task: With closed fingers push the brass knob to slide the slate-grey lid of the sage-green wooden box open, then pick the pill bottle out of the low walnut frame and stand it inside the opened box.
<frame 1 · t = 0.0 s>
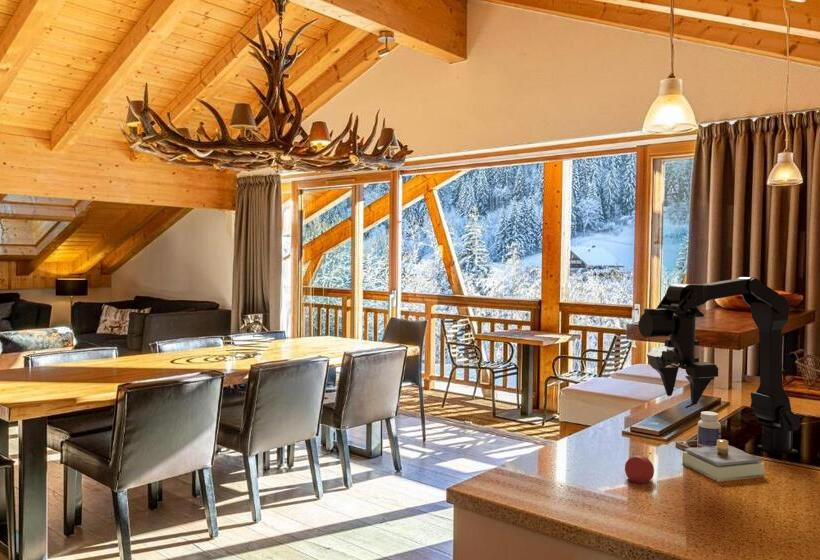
hand: (681, 400, 157), 15 cm above the counter, fingers open, 9 cm apart
fruit: (641, 479, 145), on the counter
pebbles: (708, 448, 164), in the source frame
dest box: (721, 470, 150), on the counter
lid: (722, 448, 150), point 5 cm above the counter, slide at 0.0 cm
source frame: (708, 451, 165), on the counter
pill bottle: (708, 452, 165), resting in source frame
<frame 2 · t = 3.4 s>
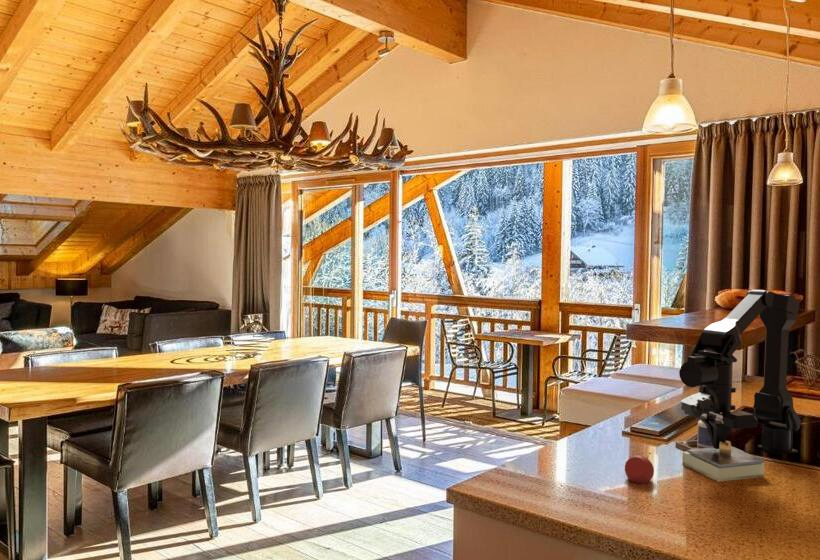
hand: (716, 448, 152), 5 cm above the counter, fingers closed
lid: (725, 449, 149), point 5 cm above the counter, slide at 0.9 cm, touching gripper
everything else where it was.
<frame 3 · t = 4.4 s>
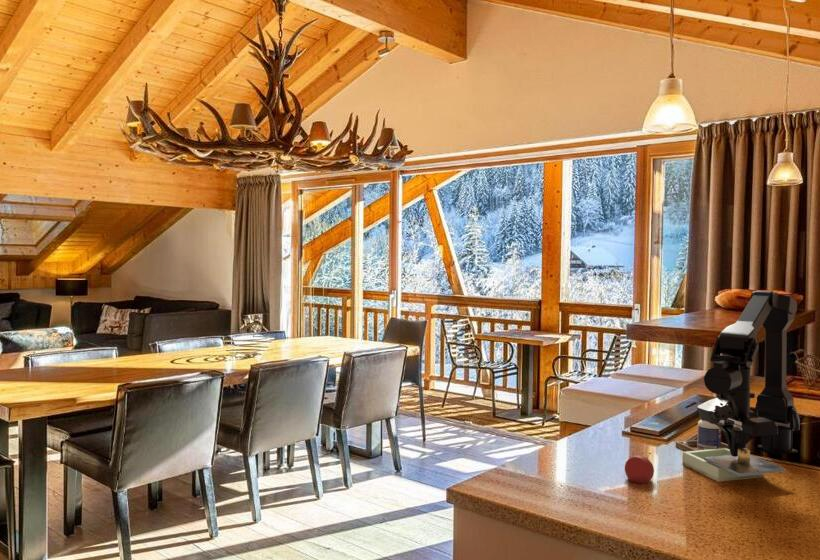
hand: (734, 456, 146), 5 cm above the counter, fingers closed
lid: (743, 457, 144), point 5 cm above the counter, slide at 6.6 cm, touching gripper
everything else where it was.
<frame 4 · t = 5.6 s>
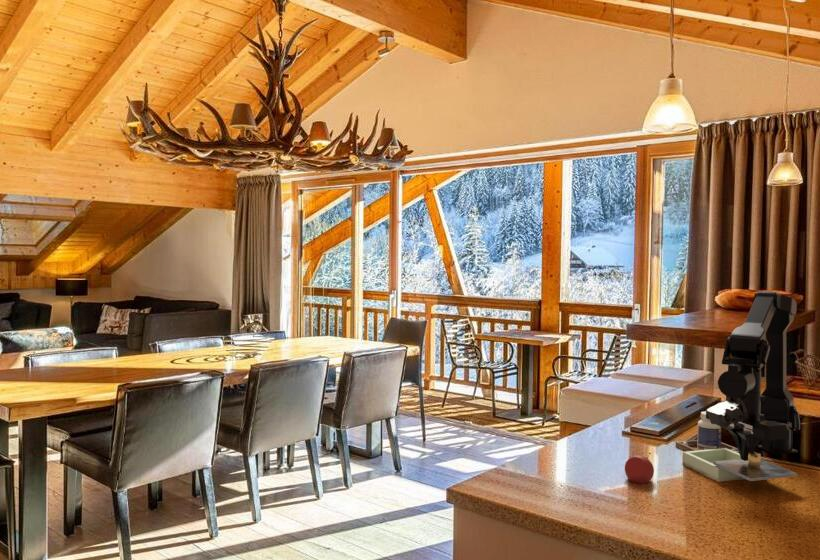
hand: (744, 460, 143), 5 cm above the counter, fingers closed
lid: (754, 461, 141), point 5 cm above the counter, slide at 9.7 cm, touching gripper
everything else where it was.
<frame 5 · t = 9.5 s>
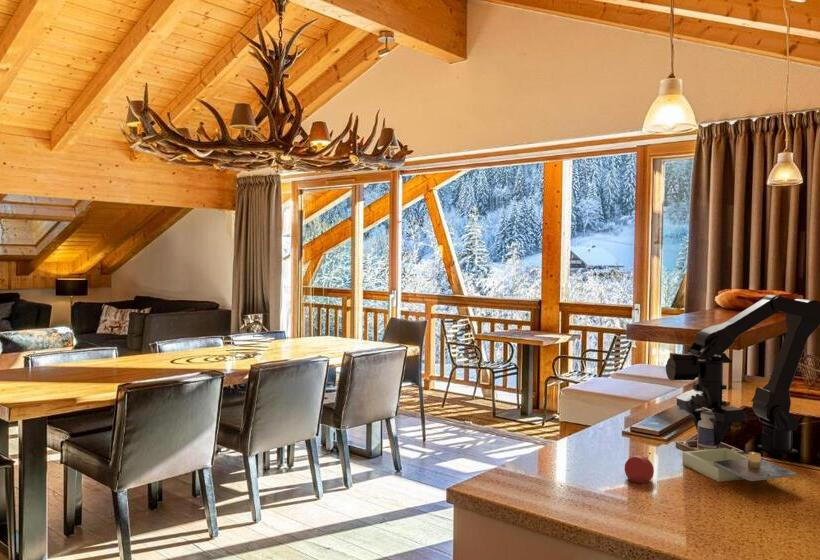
hand: (709, 441, 164), 3 cm above the counter, fingers closed on pill bottle, 5 cm apart
lid: (754, 461, 141), point 5 cm above the counter, slide at 9.7 cm
pill bottle: (708, 451, 165), resting in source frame, touching gripper
everything else where it was.
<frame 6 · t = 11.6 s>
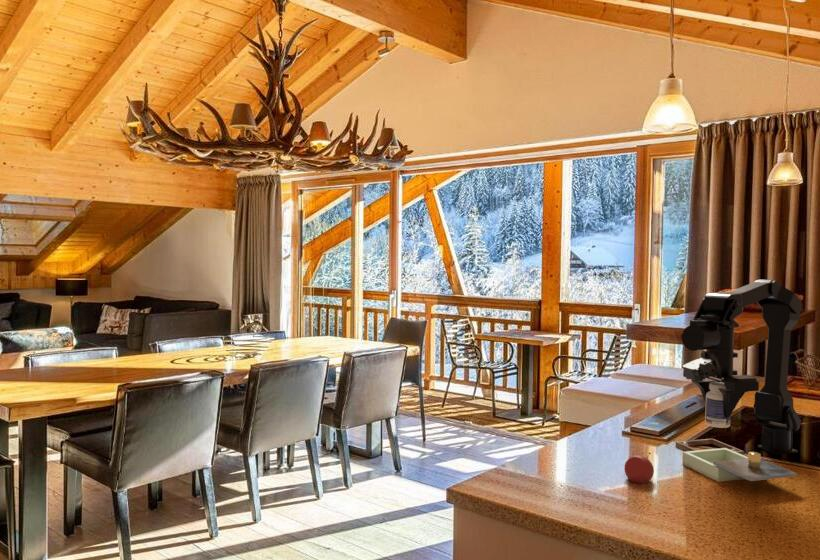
hand: (718, 414, 151), 13 cm above the counter, fingers closed on pill bottle, 5 cm apart
pill bottle: (717, 426, 151), point 10 cm above the counter, touching gripper
everything else where it was.
when the fingers open (4 cm above the counter, at t = 13.6 s): pill bottle drops 1 cm, resting on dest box.
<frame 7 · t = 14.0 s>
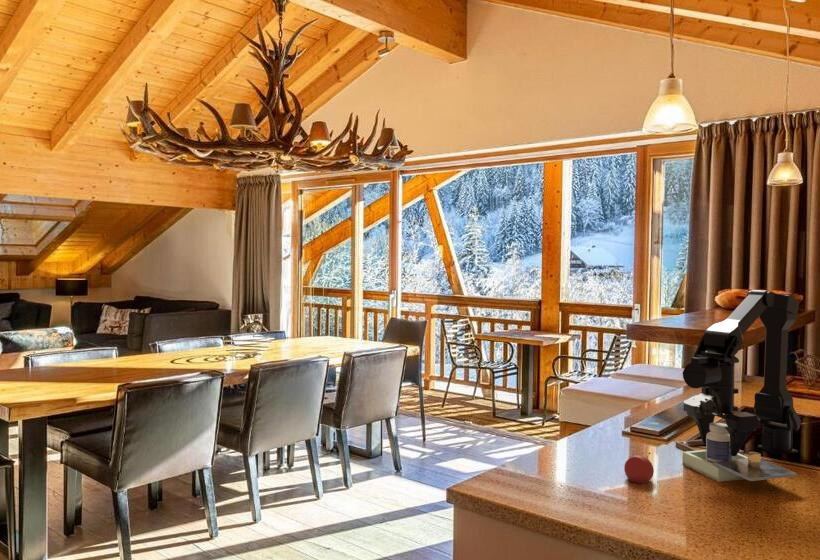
hand: (719, 449, 151), 4 cm above the counter, fingers open, 9 cm apart
pill bottle: (718, 466, 151), resting on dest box
everything else where it was.
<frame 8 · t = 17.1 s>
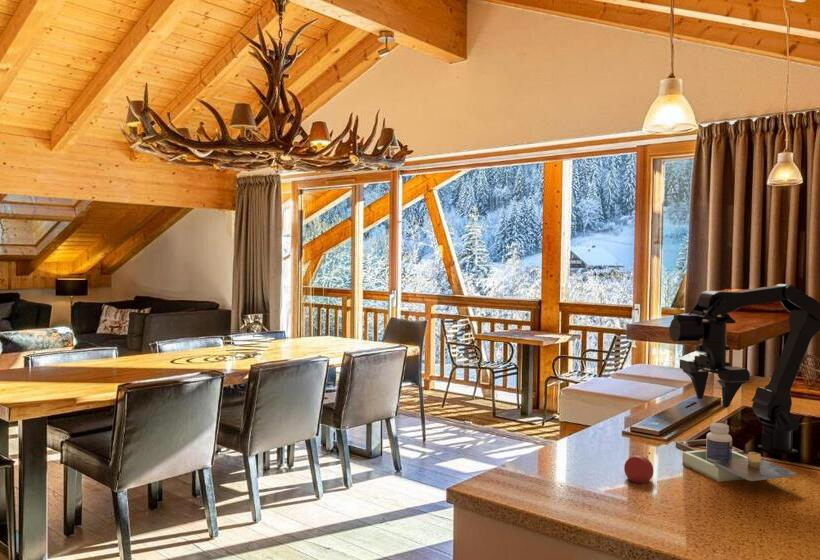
hand: (712, 403, 163), 13 cm above the counter, fingers open, 9 cm apart
nothing on the counter moved.
at the end: pill bottle inside the target area on the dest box (1.1 cm from its centre), point 0.4 cm above the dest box's base; pill bottle tilted 0°; lid slide at 9.7 cm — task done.
